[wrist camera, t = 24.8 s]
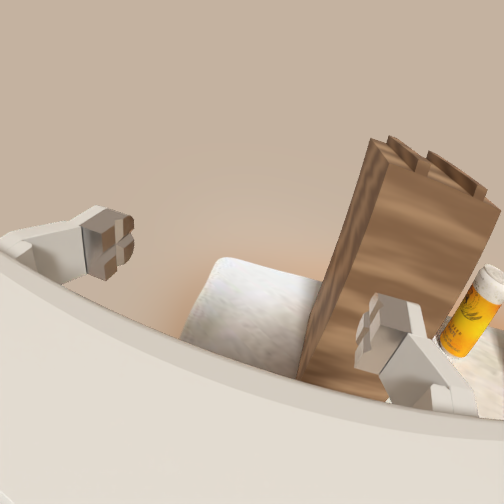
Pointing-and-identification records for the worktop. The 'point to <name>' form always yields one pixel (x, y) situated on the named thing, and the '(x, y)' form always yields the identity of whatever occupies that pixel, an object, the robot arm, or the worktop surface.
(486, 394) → the worktop surface
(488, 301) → the beer can
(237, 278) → the worktop surface
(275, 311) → the worktop surface
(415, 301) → the wooden slab
